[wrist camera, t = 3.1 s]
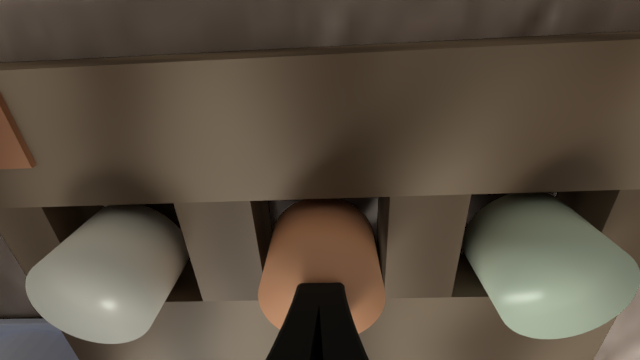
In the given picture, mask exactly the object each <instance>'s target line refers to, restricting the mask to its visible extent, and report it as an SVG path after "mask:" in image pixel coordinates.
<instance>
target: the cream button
mask: <svg viewBox="0 0 640 360" xmlns="http://www.w3.org/2000/svg"><path fill="white" fill-rule="evenodd" d="M188 257H189V253H188V250H187V246H186V243H185V240H184V236H183V233H182V232H181V230H180V229H179V228H178V226H177V225H176V224H175V223H174V222H173V221H171V220H170V219H169V218H168V217H166V216H165V215H163V214H162V213H160V212H158V211H156V210H154V209H152V208H149V207H146V206H143V205H139V204H128V205H109V206H106V207H104V208H102V209H101V210H99V211H98V212H97V213H96V214H95V215H93V216H92V217H91V218H90V219H89V220H88V221H86V222H85V223H84V224H83V225H82V226H81V227H79V228H78V229H77V230H76V231H75V232H73V233H72V234H71V235H70V236H69V237H68V238H66V239H65V240H64V241H63V242H62V243H61V244H59V245H58V246H57V247H56V248H55V249H54V250H52V251H51V252H50V253H49V254H48V255H46V256H45V257H44V258H43V259H42V260H41V261H39V262H38V263H37V264H36V265H35V266H34V267H32V269H31V270H30V271H29V273H28V275H27V277H26V282H25V288H26V293H27V296H28V298H29V300H30V302H31V304H32V306H33V307H34V308H35V310H36V311H37V312H38V313H39V314H40V315H41V316H42V317H43V318H44V319H45V320H46V321H48V322H49V323H50V324H52V325H53V326H55V327H56V328H58V329H60V330H61V331H63V332H65V333H67V334H70V335H72V336H74V337H77V338H80V339H83V340H86V341H90V342H96V343H103V344H120V343H126V342H130V341H133V340H135V339H138V338H139V337H141V336H143V335H144V334H145V333H146V332H147V331H148V330H149V329H150V327H151V325H152V323H153V322H154V320H155V318H156V316H157V315H158V313H159V311H160V309H161V308H162V306H163V304H164V302H165V301H166V299H167V297H168V295H169V294H170V292H171V290H172V288H173V287H174V285H175V283H176V281H177V280H178V278H179V276H180V274H181V273H182V271H183V269H184V267H185V266H186V264H187V261H188Z"/></svg>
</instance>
